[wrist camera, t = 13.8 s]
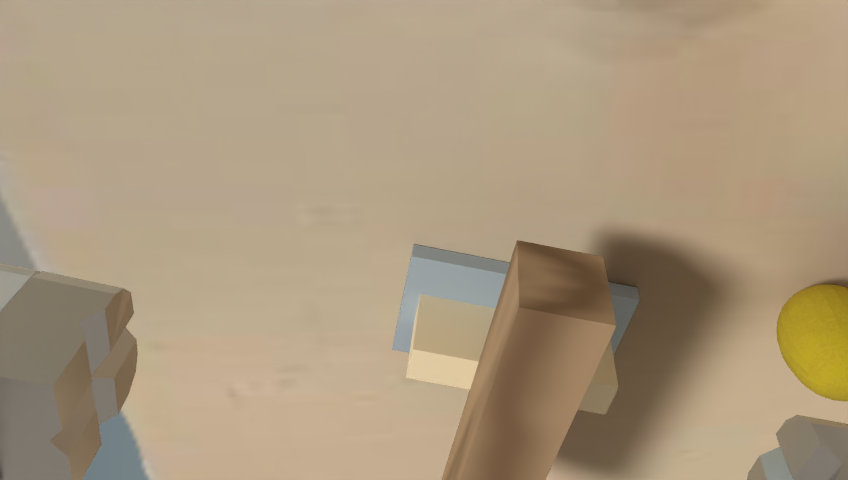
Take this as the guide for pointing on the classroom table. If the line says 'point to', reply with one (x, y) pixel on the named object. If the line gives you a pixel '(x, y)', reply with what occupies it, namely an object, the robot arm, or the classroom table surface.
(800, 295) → the lemon
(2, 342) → the robot arm
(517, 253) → the walnut bar
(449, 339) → the fulcrum
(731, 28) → the classroom table surface
